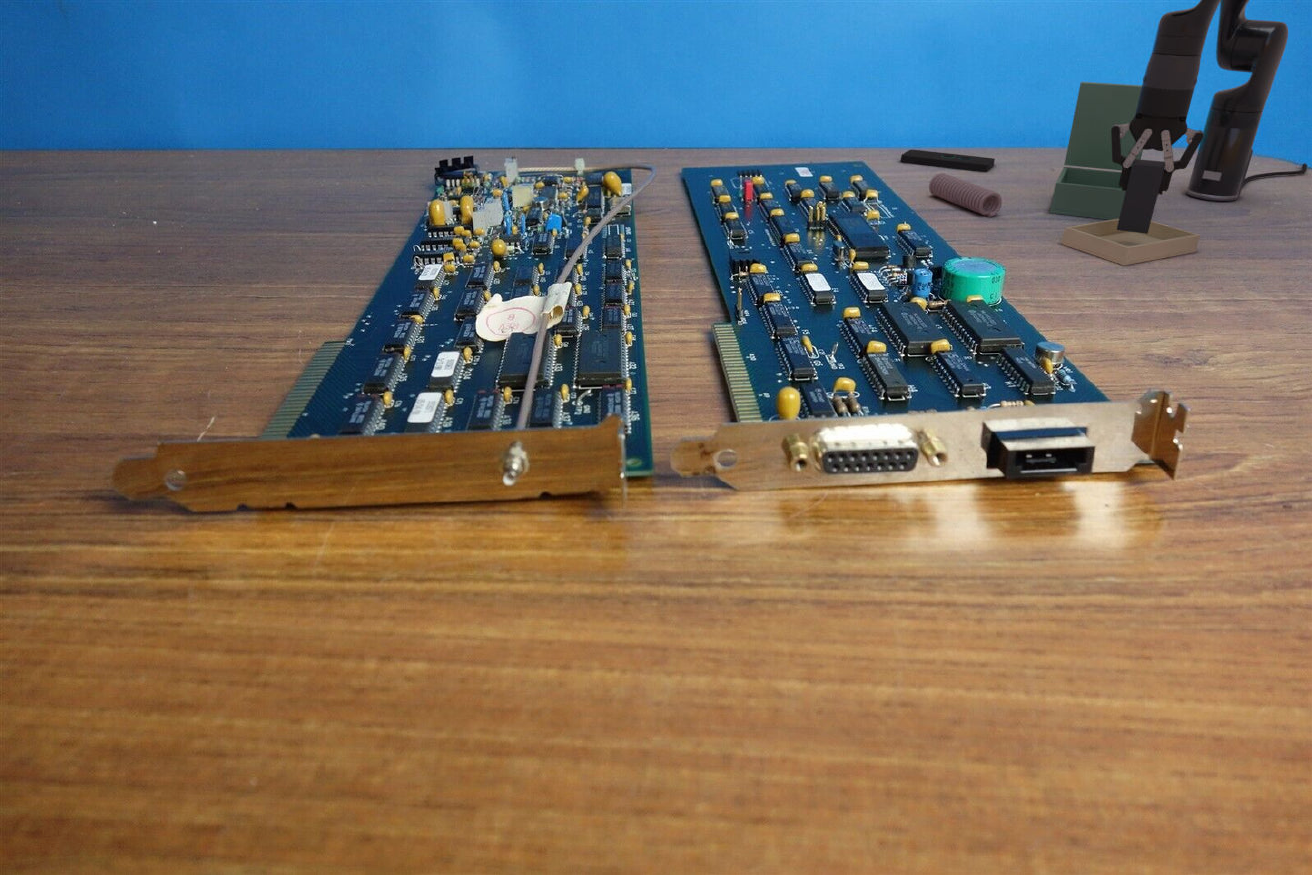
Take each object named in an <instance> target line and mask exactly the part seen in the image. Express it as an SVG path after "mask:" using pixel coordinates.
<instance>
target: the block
mask: <svg viewBox="0 0 1312 875" xmlns="http://www.w3.org/2000/svg"><path fill="white" fill-rule="evenodd" d="M1164 169H1165V161H1162V160H1151V159H1150V160H1149V159H1142V158H1141V159H1135V160H1134V161H1133V164H1132V168H1131V173H1130V177H1129V181H1128V185H1127V189H1126V193H1125V197H1124V201H1123V205H1122V209H1121V213H1120V217H1119V221H1118V226H1117V230H1120V231H1128V232H1136V233H1145V234H1148V230H1149V226H1150V223H1151V221H1152V218H1153V214H1154V211H1155V207H1156V204H1157V200H1158V196H1159V194H1158V192H1159V188H1160V184H1161V181H1162V177H1163V173H1164Z"/></svg>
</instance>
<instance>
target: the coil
mask: <svg viewBox="0 0 1312 875" xmlns="http://www.w3.org/2000/svg"><path fill="white" fill-rule="evenodd" d="M928 190H929V193H930V194H931V195H932V196H935V197H938V198H939V199H942V200H944V201H946V202H947V201H948V202H950V203H952V204H954V205H957V206H960V207H962V208H964V209H967V210H969V211H971V212H975V213H977V214H979V215H982V216H985V217H986V216H988V218H991V217H994V216H995V215H997V214H998V213H999V211H1000V210H1001V208H1002V204H1003V200H1002V196H1001V194H1000V193H998V192H996V191H993V190H991V189H988V188H985V187H983V186H980V185H978V184H974V183H972V182H969V181H966V180H963V179H961V178H958V177H955V176H953V175H950V174H946V173H944V172H940V173H937V174H935V175H934V176H933V177H932V178H931V179H930V181H929V184H928Z"/></svg>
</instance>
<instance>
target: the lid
mask: <svg viewBox="0 0 1312 875" xmlns="http://www.w3.org/2000/svg"><path fill="white" fill-rule="evenodd" d="M1141 88H1142V84H1127V83H1126V84H1124V83H1110V82H1109V83H1108V82H1094V81H1080V84H1079V88H1078V94H1077V99H1076V104H1075V107H1074V108H1075V109H1074V114H1073V119H1072V125H1071V129H1070V135H1069V139H1068V145H1067V149H1066V155H1065V158H1064V166H1068V167H1078V168H1082V167H1083V168H1089V169H1099V170H1110V171H1120V172H1122V166H1121V165H1120V164H1118V163H1114V162H1113V161H1112V138H1111V129H1112V127H1113V125H1115V124H1119V125H1122V124H1128V123H1130V122H1131V121H1132V120H1133V118H1134V117H1135V113H1136V109H1137V105H1138V101H1139V96H1140V92H1141ZM1120 139H1121V155H1123V156H1125V157H1127V155H1128V153H1129V152H1130V150H1131V149H1132V147H1133V145H1134V144H1135V140H1134V138H1133V136H1132V134H1131V132H1130V130H1128V131H1126V133H1125V136H1124V137H1123V138H1120ZM1143 152H1144V150H1143V149H1141V151H1140V152H1139V154H1138V155H1137V157H1136V158H1135V159H1141V160H1142V156H1143ZM1132 164H1133V163H1132ZM1132 164H1131V166H1132Z"/></svg>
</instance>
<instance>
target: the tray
mask: <svg viewBox="0 0 1312 875" xmlns="http://www.w3.org/2000/svg"><path fill="white" fill-rule="evenodd" d="M1118 221H1119V219H1113V220H1107V219H1106V220H1101V221H1096V222H1090V223H1083V224H1078V225H1077V224H1076V225H1071V226H1065V227H1064V230H1063V236H1062V240H1061V245H1063V246H1066V247H1069V248H1071V249H1075V250H1078V251H1080V252H1084V253H1086V254H1090V255H1091V256H1095V257H1097V258H1101V259H1104V260H1107V261H1109V262H1113V263H1115V264H1117V265H1121V266H1130V265H1134V264H1139V263H1145V262H1150V261H1157V260H1160V259H1165V258H1166V259H1167V258H1171V257H1177V256H1182V255H1187V254H1193V253H1196V252H1197V248H1198V244H1199V242H1200V238H1201V234H1199V233H1195V232H1192V231H1188V230H1185V229H1182V228H1178V227H1175V226H1171V225H1167V224H1164V223H1161V222H1158V221H1154V220H1151V223H1150V226H1149V230H1148V234H1145V233H1136V232H1128V231H1120V230H1117V226H1118Z"/></svg>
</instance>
